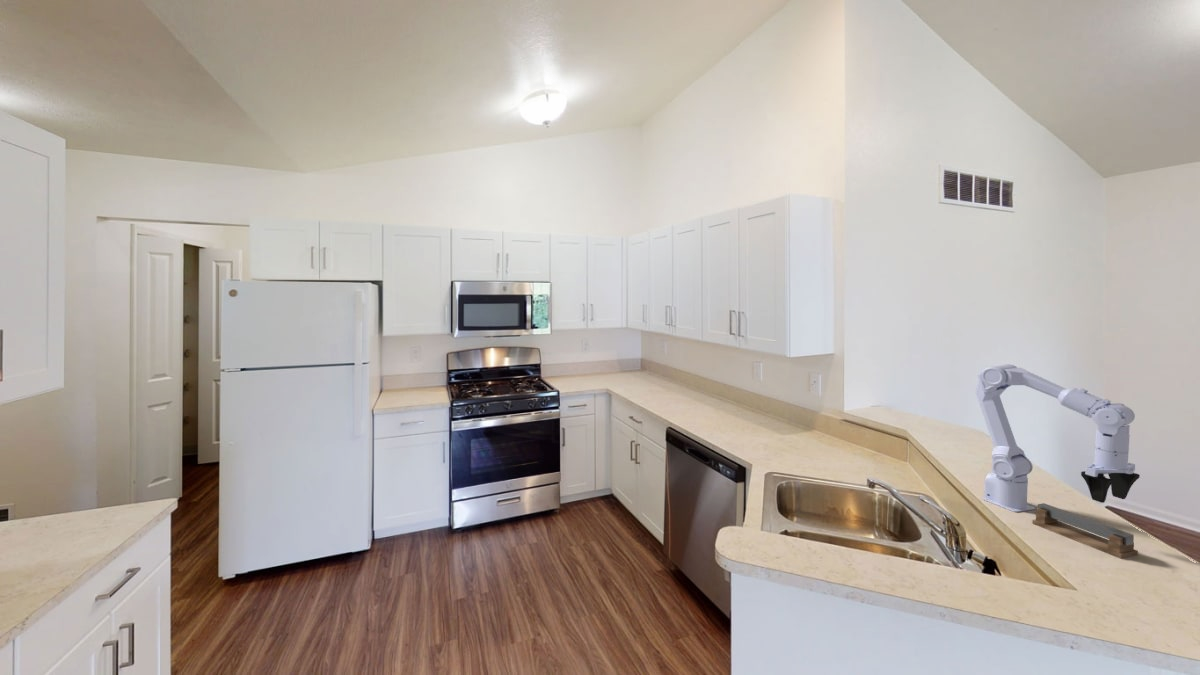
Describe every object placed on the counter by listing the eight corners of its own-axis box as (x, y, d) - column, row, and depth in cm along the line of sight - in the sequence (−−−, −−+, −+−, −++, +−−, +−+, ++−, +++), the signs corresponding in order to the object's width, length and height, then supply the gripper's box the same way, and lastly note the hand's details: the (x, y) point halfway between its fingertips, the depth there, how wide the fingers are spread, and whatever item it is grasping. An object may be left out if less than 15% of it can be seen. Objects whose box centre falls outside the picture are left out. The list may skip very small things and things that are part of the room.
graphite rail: (1037, 512, 123) (1037, 504, 122) (1043, 511, 123) (1043, 503, 123) (1126, 545, 105) (1126, 536, 105) (1133, 544, 105) (1133, 534, 105)
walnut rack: (1032, 523, 122) (1032, 507, 122) (1047, 520, 124) (1048, 505, 123) (1120, 558, 105) (1121, 540, 104) (1137, 554, 106) (1138, 536, 106)
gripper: (1112, 457, 108) (1109, 509, 109) (1152, 451, 111) (1149, 502, 112) (1076, 448, 115) (1073, 497, 115) (1115, 443, 118) (1112, 491, 119)
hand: (1108, 499), depth 114 cm, fingers open, 7 cm apart
